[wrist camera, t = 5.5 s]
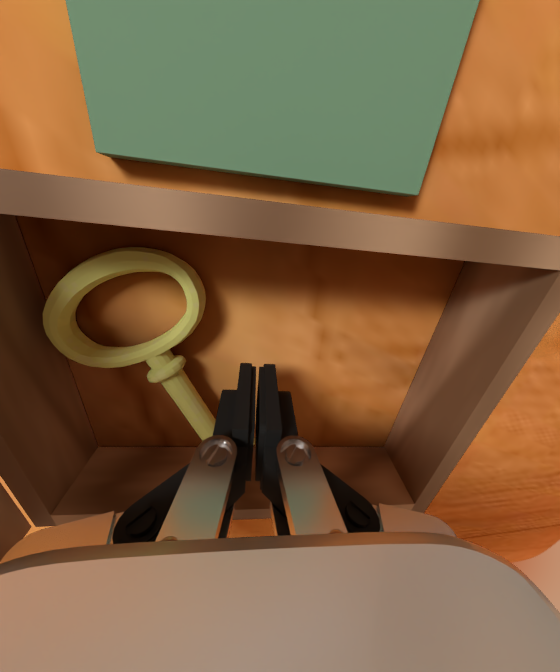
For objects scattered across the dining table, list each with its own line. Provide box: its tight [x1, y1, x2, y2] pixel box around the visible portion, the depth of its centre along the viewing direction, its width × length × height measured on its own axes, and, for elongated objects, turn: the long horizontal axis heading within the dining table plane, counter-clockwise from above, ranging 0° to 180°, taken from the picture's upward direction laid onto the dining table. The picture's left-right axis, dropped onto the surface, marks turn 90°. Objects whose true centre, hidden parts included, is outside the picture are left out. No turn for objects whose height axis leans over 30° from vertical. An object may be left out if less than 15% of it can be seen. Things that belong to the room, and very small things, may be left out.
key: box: [43, 247, 255, 445], centre depth 12 cm, size 7×12×2 cm, turn 40°
